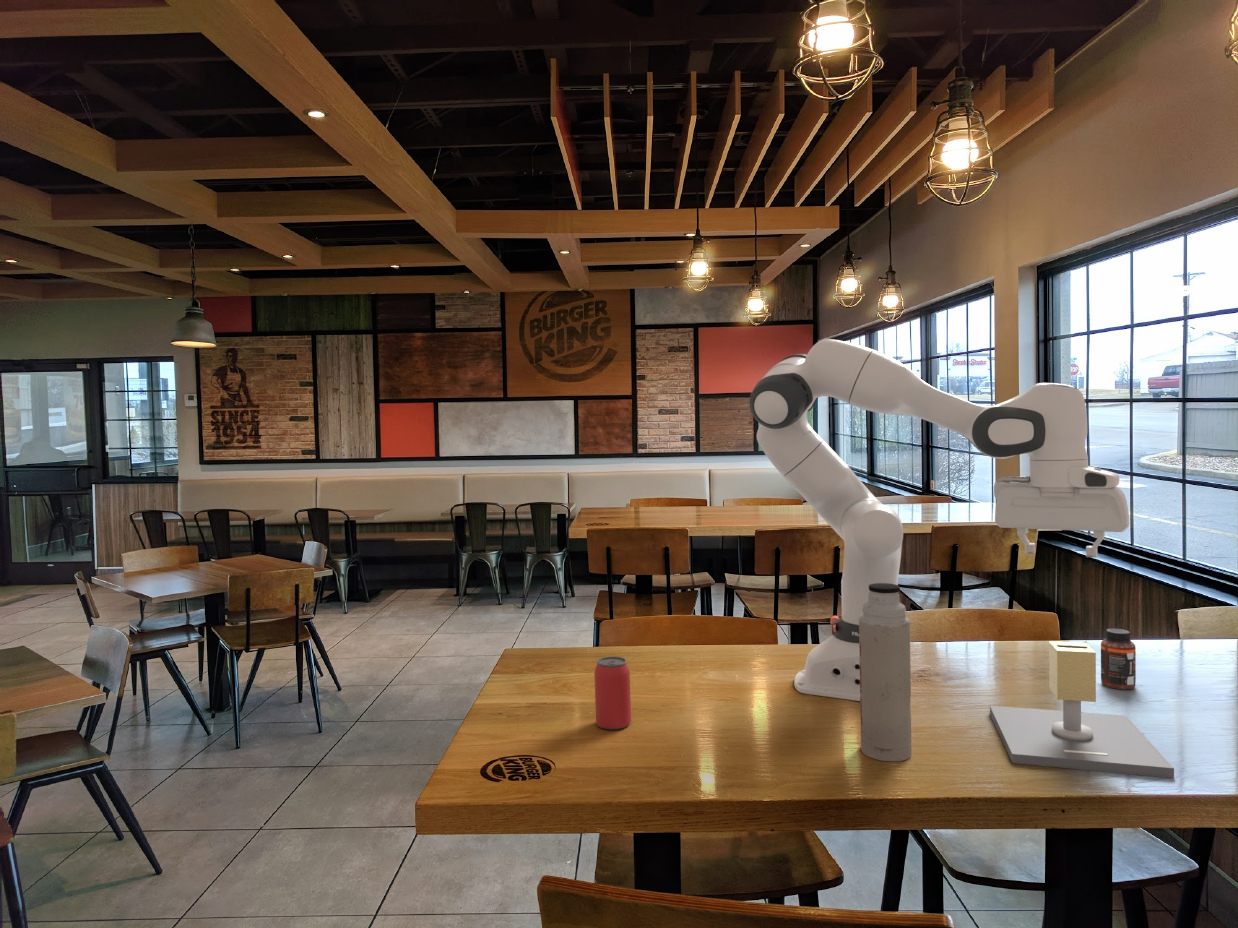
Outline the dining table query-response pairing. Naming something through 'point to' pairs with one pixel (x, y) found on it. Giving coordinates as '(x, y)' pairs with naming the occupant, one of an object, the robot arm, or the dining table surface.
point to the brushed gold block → (1072, 671)
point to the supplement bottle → (1118, 660)
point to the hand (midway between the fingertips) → (1060, 555)
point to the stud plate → (1077, 740)
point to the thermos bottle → (885, 675)
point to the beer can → (612, 693)
